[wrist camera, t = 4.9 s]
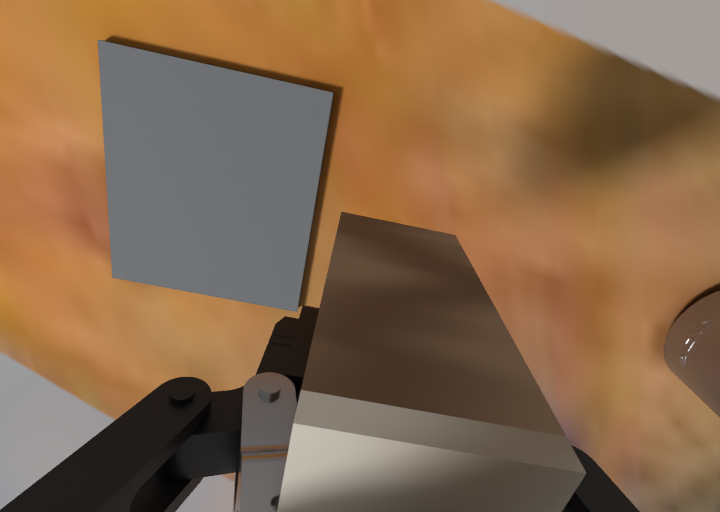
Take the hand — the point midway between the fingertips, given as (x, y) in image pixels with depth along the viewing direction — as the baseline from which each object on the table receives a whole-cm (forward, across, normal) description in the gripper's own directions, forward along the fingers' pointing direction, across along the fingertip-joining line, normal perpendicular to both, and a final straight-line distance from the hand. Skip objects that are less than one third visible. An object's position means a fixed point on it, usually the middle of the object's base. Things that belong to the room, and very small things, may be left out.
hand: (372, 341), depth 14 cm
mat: (+15, +11, +1) cm, 18 cm away
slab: (+1, 0, 0) cm, 1 cm away
